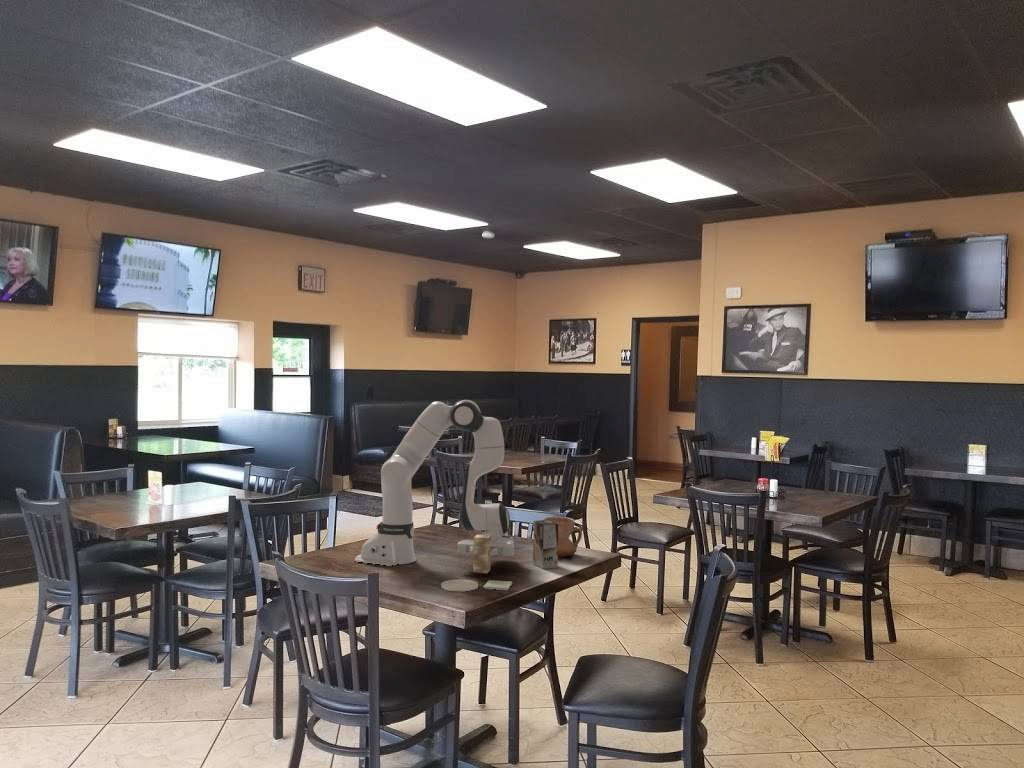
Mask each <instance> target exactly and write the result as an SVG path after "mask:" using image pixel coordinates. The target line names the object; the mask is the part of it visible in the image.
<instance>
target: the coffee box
mask: <svg viewBox="0 0 1024 768" xmlns="http://www.w3.org/2000/svg"><path fill="white" fill-rule="evenodd" d="M532 529H533V531H532V532H533V534H532V535H533V537H532V538H533V539H532V540H533V543H532V544H533V545H532V548H533V549H532V553H533V554H532V564H533V565H535V566H537V567H539V568H541V569H542V570H547V569H556V568H557V569H558V567H559V558H558V524H557V523H555V522H552V521H549V520H543V519H540V520H533V528H532Z"/></svg>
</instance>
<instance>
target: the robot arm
mask: <svg viewBox="0 0 1024 768" xmlns="http://www.w3.org/2000/svg"><path fill="white" fill-rule="evenodd" d="M451 426H454V427H455V428H456V429H459V430H461V431H465V432H469V433H472V434H473V439H474V440H473V442H474V454H473V457H472V459H471V460H470V461H468V463H467V464H466V468H465V471H464V480H463V488H462V496H461V497H462V498H461V504H460V510H459V515H458V521H459V523H458V524H459V525H460V526H461V528H462V529H463V530H465V531H467V532H477V531H485V532H484V533H482V535H491V550H489V551H488V553H489V554H488V556H491V559H492V558H495V557H513V556H514V555H515V541H514V537H513V536H509V533H508V531H509V530H510V527H511V525H510V524H511V519H510V513H509V510H508V509H507V507H506V506H505V505H504V504H503V503H499V502H497V503H475V502H474V500H475V493H476V491H475V490H476V484H477V481H478V479H479V478H480V477H481V476H483V475H485V474H488V473H490V472H492V471H495V470H496V469H497V468H499V467H501V465H502V464H503V462H504V459H505V441H504V440H505V439H504V434H503V433H504V432H503V429H502V424H501V422H500V420H499V419H497V418H496V417H493V416H492V417H491V416H483V414H482V413H481V409H480V406H479V405H478V404H477V403H476V402H474V401H473V400H470V399H461V400H459V401H457V402H455V404H452V405H448V404H447V403H444V402H443V401H438V400H437V401H433V402H431V403H430V404H429V405H428V406H427V407H426V408H425V409H424V410H423V411H422V412H421V414H420V415H419V416H418V417H417V419H416V420H415V421H414V423H413V424H412V426H411V427H410V428H409V429H408V431H407V432H406V434H405V436H404V437H403V439H402V440H401V442H400V444H398V446H397V447H396V449H395V450H394V452H393V453H392V454H391V457H389V458H388V459H387V460H386V461H385V462H384V463H383V464H382V466H381V469H380V482H381V483H380V485H381V494H382V495H381V496H382V520H381V522H379V523H378V524H377V525H376V526H375V528H376V530H377V532H376V533H375V534H373V535H372V536H371V537H369V538H368V539H367V540H366V541H365V542H364V543H363V544H362V547H361V552H360V554H358V555H356V557H355V558H354V562H355V561H356V562H355V563H358V562H363V563H362V564H367V563H373V564H372V565H375V564H380V565H379V566H383V565H386V566H385V567H392V565H393V566H397V564H399V565H407V564H411V563H414V562H416V561H417V558H416V554H415V548H414V540H413V538H414V534H415V531H414V530H415V529H414V527H415V526H414V521H413V510H414V509H413V507H414V506H413V501H414V500H413V494H412V493H413V492H412V491H413V489H412V478H413V477H414V475H416V472H417V471H418V470H419V468H420V467H421V466H422V464H423V463H424V461H425V460H426V458H427V457H428V455H429V454H430V453H431V452H432V450H433V448H434V447H435V445H436V444H437V443H438V442H439V440H440V439H441V437H442V436H443V434H444V432H446V430H447V429H448V428H449V427H451ZM456 552H457V553H458V554H465V555H466V554H467V555H472V556H473V552H474V539H463V540H459V542H457V546H456Z"/></svg>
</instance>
